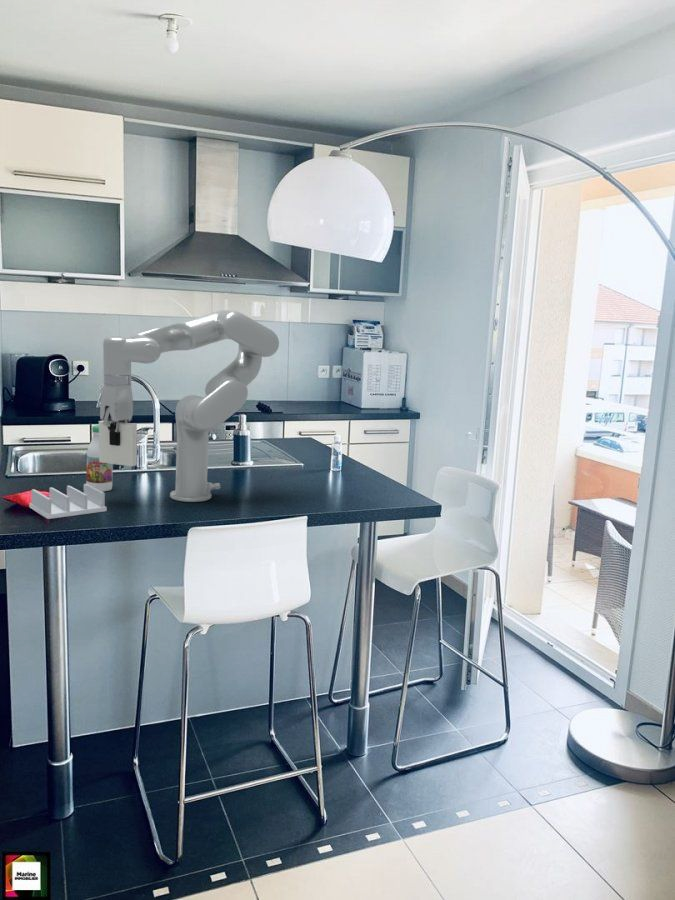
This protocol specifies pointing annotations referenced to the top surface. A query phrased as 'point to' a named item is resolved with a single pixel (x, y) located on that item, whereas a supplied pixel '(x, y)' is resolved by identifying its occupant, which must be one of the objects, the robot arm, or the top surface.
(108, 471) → the milk bottle
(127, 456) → the plate
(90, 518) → the top surface
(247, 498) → the top surface
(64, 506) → the dish rack
